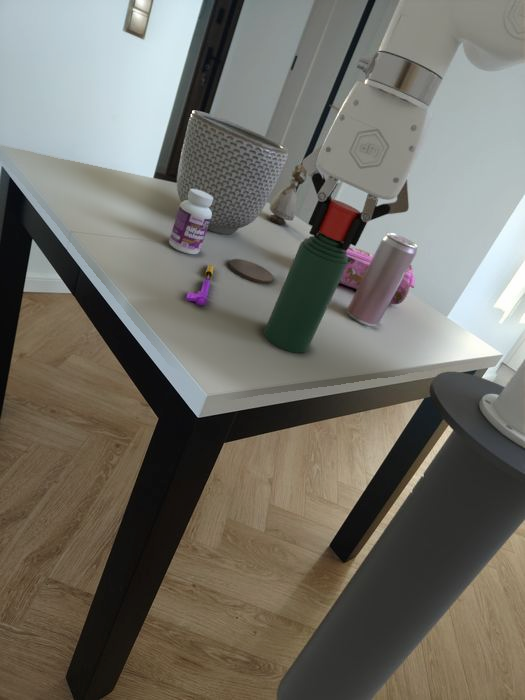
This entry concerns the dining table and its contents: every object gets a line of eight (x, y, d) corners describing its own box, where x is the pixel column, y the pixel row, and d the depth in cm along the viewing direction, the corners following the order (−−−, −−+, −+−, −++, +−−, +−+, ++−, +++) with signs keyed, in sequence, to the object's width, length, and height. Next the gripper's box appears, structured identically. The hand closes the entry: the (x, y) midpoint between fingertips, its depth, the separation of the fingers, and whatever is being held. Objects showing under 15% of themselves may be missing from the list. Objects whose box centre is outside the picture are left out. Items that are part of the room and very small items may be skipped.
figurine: (263, 213, 132) (285, 156, 126) (286, 221, 134) (309, 166, 128) (268, 222, 125) (291, 162, 119) (293, 231, 127) (317, 172, 121)
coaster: (279, 279, 90) (280, 276, 90) (262, 287, 83) (263, 284, 83) (241, 259, 92) (242, 256, 92) (221, 265, 85) (222, 262, 85)
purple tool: (205, 307, 68) (214, 269, 82) (206, 299, 67) (214, 262, 81) (185, 304, 68) (197, 267, 82) (185, 296, 67) (198, 260, 81)
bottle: (313, 344, 71) (372, 219, 63) (299, 358, 65) (361, 223, 57) (274, 323, 72) (327, 198, 64) (256, 335, 67) (312, 200, 59)
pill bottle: (181, 255, 82) (199, 198, 78) (162, 240, 85) (178, 184, 81) (205, 255, 86) (224, 201, 82) (186, 241, 89) (203, 188, 85)
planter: (145, 208, 97) (173, 104, 88) (188, 200, 114) (215, 113, 106) (235, 252, 94) (274, 150, 86) (266, 237, 112) (300, 151, 104)
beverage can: (348, 306, 92) (387, 229, 85) (378, 321, 91) (420, 244, 85) (343, 315, 86) (384, 234, 80) (375, 331, 86) (419, 250, 79)
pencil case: (301, 277, 97) (320, 233, 93) (299, 262, 105) (316, 222, 101) (401, 315, 100) (424, 275, 96) (392, 298, 108) (412, 260, 104)
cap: (320, 226, 64) (333, 197, 63) (348, 239, 64) (362, 211, 62) (314, 230, 61) (327, 200, 59) (343, 244, 60) (358, 214, 59)
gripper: (325, 48, 52) (261, 215, 60) (476, 112, 50) (388, 276, 58) (337, 61, 59) (277, 209, 67) (470, 118, 57) (392, 264, 65)
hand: (330, 239), depth 63 cm, fingers closed on cap, 3 cm apart
